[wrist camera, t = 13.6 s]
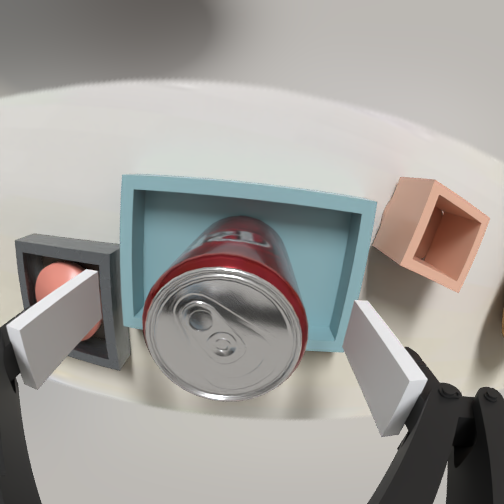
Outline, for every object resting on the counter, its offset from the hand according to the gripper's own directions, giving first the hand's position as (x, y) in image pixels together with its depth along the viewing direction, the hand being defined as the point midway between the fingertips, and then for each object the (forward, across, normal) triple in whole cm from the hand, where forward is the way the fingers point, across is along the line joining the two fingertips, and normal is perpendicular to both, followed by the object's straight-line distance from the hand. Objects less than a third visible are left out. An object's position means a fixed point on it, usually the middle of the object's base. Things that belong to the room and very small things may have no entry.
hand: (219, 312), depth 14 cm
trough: (+10, +1, 0) cm, 10 cm away
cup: (+10, +14, +4) cm, 18 cm away
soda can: (+10, +1, 0) cm, 10 cm away
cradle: (+10, -15, -6) cm, 19 cm away
